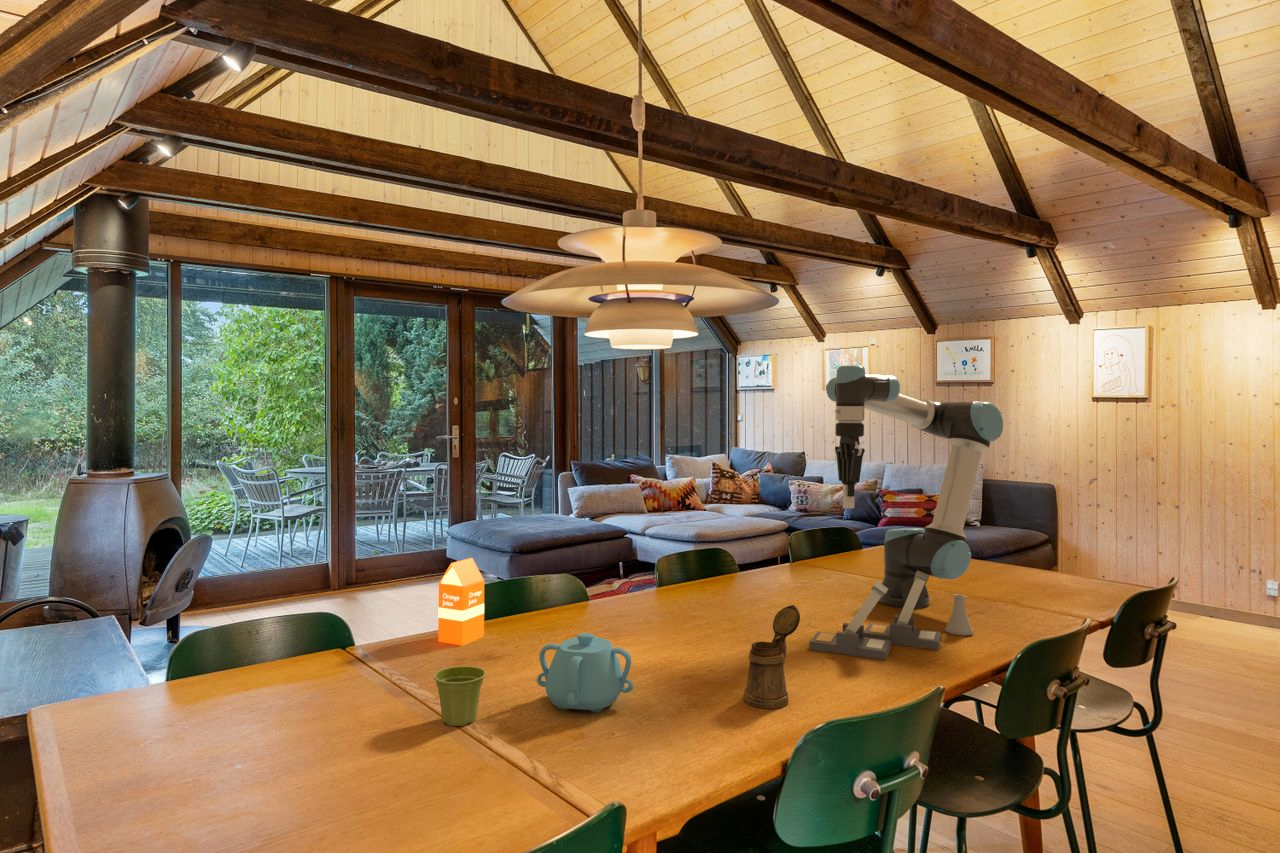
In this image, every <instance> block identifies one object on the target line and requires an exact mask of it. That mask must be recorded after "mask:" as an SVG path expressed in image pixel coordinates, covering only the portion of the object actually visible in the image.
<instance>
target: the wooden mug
mask: <svg viewBox="0 0 1280 853" xmlns="http://www.w3.org/2000/svg"><path fill="white" fill-rule="evenodd" d="M800 622H801V614H800V611H799V609H798V608H797V606H796V605H795V604H791V605H787V606H785V607H783V608H781V609H780V610H778V611H777V613H776V614H775V615H774V619H773V622H772V630H773V632H774V636H773V638H772V640H771V642H768V641H755V642H753V643H751V649H750V650H749V654H748V660H749V666H748V667H749V668H748V672H747V680H746V685H745V686H746V687H745V688H744V689H745V690H744V691H743V692H744V693H743V701H744V703H746V704H748V705H749V706H752V707H755V708H759V709H766V710H767V709H769V710H773V709H775V710H776V709H781V708H784V707H786V706H787V705H788V704H789V692H788V691H787V684H786V675H785V666H784V664H785V661H786V658H787V637H788V636H790V635H792V634H794V633H795V631H796V630H797V629H798V627H799V624H800Z"/></svg>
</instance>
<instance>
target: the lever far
mask: <svg viewBox="0 0 1280 853" xmlns="http://www.w3.org/2000/svg"><path fill="white" fill-rule="evenodd" d="M929 578H930V575H927V574H925V573H923V572H920V571H918V570H917V572H916V574H915V576H914V579H915V581H914V583H913V586H912V588H911V590H910V593H909V595H908V598H907V600H906V602H905V605H904V607H902V609H901V612H900V615H899V616H900V617H899V619H898V621H897V624H905V625H907V624H908V622H909V619H910V617H912V614H913V612H914V610H915V608H914V607H915V605H916V603H917V600H918V598H919V596H920V593H921V591H922V588H923V586H924V584H925V585H927V583H928V581H929Z"/></svg>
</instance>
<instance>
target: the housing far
mask: <svg viewBox="0 0 1280 853" xmlns="http://www.w3.org/2000/svg"><path fill="white" fill-rule="evenodd" d="M899 617H900V615H896V614H894V616H893V622H890V624H889V625H888V624H887V625H886V624H885V625H884V624H879V623H876V624H875V623H871V622H870V623H868V625H867V626H866V627H865V628H864V637H867V638H874V639H882V640H890V641H891V645H893V644H896V645H895V646H901V645H903V646H904V647H909V646H912V647H911V648H917V647H919V649H925V648H927V649H926V650H933V649H934V650H933V651H939V650H940V645H941V640H942V632H941V631H936V630H926V629H918V628H915V622H916V620H915V616H911V617H910V619H909V622H908V624H907V625H905V624H897V621H898V619H899Z"/></svg>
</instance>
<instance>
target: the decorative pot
mask: <svg viewBox="0 0 1280 853" xmlns="http://www.w3.org/2000/svg"><path fill="white" fill-rule="evenodd" d="M548 650H556V652H555V654H554V656H553V658H552V660H551V663H550V665H549V666H548V663H547V660H546V652H547V651H548ZM538 655H539V657H538V658H539V663H540V666H541V669H542V672H540V673H539V674H538V675H537V678H536V682H537V685H539V686H540V687H543V688H545V691H546V692H545V693H546V695H547V697H548V699H549V700H550V702H551V703H552V705H554V706H556V707H557V709H559V710H564V711H565V710H569V709H570V710H578V711H579V710H580V711H581V710H582V711H590V712H592V713H601V712H603V711H604V708H608V707H610V705H612V704H613V703H614V702H616V700H617V699H618V697H619V696H620V694H621V693H623V694H628V693H630V692H632V691H633V688H634V683H633V681H632V680H631V679H629V678H628V679H627V677H628V675H629V673H630V670H631V666H632V656H631V654H630V653H629V652H628V651H627V650H626V649H624V648H622V647H614V646H613V643H612V642H611V641H610V640H609V639H606V638H601V637H599V636H597V635H594V634H593V633H590V632H581V633H578V634H576V637H575V636H574V637H570V638H567V639H565V640H564V641H562V642H561V643H560V644H557V643H548V644H546V645H544V646H543V647H542V648H541V650H540V651H539V654H538ZM618 655H620V656H622V657H624V659H625V666H624V670H623V671H622V667H621V664H620V660H619V657H618ZM543 677H545V678H544V679H545V680H543V679H542V678H543ZM625 684H627V685H628V687H626V686H625Z"/></svg>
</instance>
